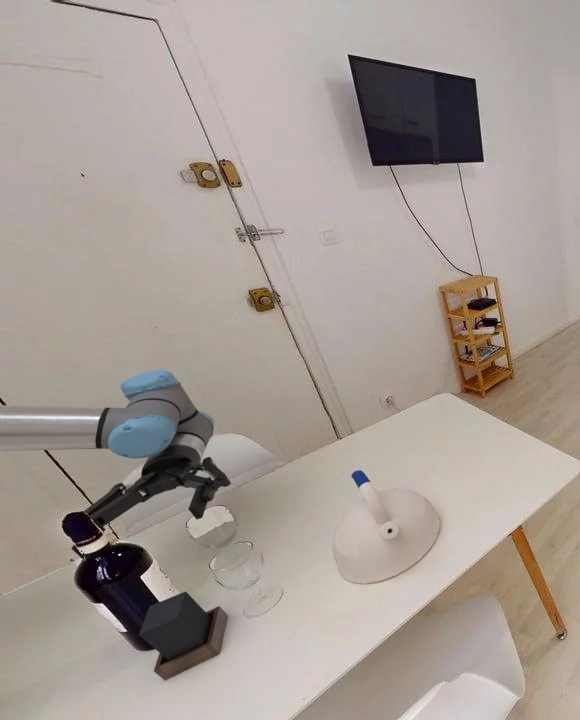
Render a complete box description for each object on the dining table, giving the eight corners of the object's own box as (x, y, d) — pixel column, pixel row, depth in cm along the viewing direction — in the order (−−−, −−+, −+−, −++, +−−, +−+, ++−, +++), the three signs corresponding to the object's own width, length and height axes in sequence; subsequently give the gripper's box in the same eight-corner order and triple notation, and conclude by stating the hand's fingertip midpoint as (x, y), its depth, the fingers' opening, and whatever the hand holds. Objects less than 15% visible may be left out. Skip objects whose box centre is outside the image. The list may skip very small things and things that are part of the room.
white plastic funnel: (354, 607, 78) (315, 545, 69) (326, 542, 91) (291, 484, 82) (456, 539, 91) (435, 480, 82) (419, 491, 103) (397, 435, 94)
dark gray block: (175, 666, 69) (138, 634, 64) (183, 638, 73) (149, 606, 68) (210, 650, 71) (177, 618, 67) (216, 623, 75) (186, 590, 71)
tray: (164, 680, 68) (153, 671, 66) (177, 638, 74) (167, 628, 72) (219, 653, 71) (210, 644, 70) (228, 615, 77) (219, 605, 76)
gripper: (260, 450, 92) (247, 513, 76) (98, 500, 80) (43, 586, 64) (244, 424, 88) (226, 484, 73) (71, 472, 76) (6, 556, 61)
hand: (140, 532), depth 69 cm, fingers open, 13 cm apart
